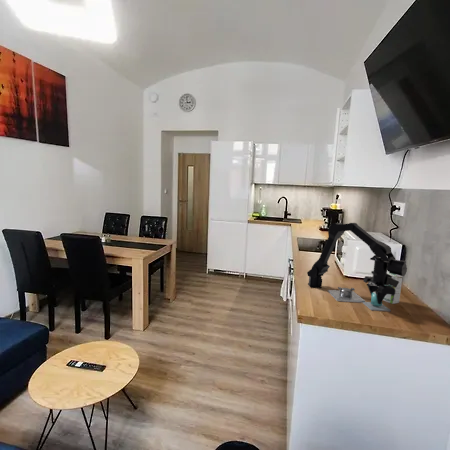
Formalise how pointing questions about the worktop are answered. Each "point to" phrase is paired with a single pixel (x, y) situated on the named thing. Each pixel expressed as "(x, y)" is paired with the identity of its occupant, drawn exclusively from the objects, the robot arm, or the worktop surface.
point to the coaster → (376, 307)
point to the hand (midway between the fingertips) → (376, 301)
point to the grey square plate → (346, 295)
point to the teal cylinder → (375, 300)
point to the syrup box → (396, 297)
